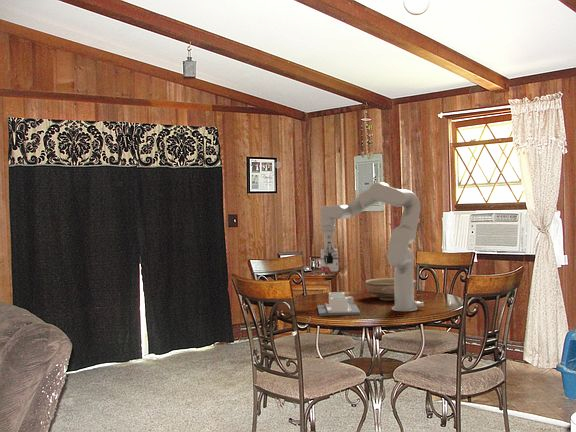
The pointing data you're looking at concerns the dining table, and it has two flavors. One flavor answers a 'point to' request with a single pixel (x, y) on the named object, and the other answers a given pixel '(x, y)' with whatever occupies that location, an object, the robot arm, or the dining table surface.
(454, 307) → the dining table surface
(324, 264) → the ink box
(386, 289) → the ceramic bowl
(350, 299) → the block
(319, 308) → the rail panel
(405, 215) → the robot arm
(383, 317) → the dining table surface
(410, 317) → the dining table surface
